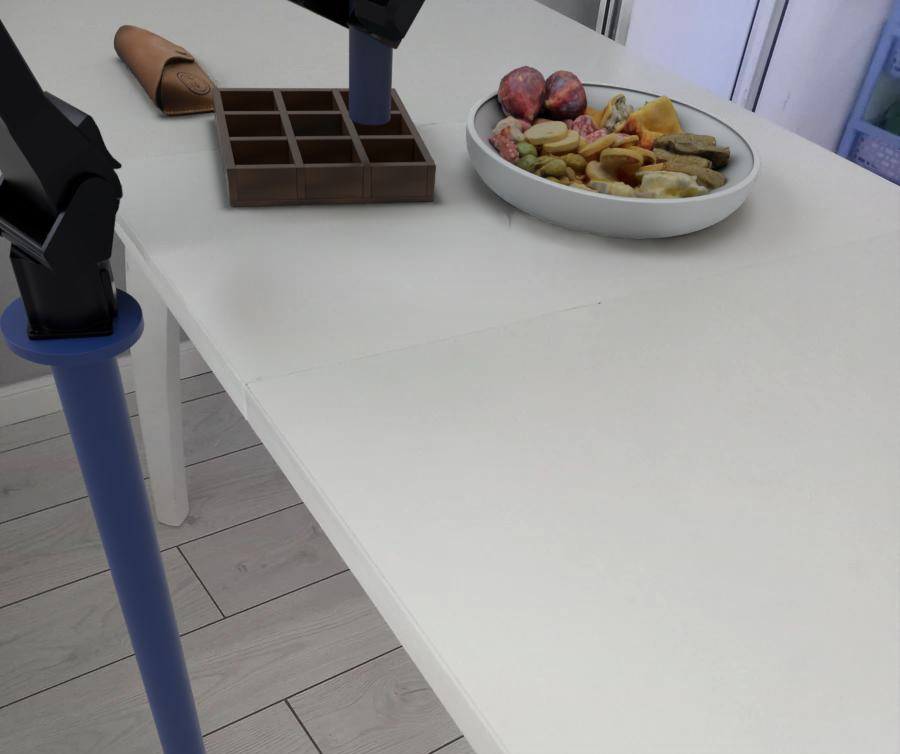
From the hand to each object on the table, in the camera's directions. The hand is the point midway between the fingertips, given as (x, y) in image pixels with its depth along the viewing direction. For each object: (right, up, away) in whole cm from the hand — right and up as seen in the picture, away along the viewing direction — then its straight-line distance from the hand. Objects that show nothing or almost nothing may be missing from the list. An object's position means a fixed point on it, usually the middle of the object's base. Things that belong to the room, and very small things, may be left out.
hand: (381, 37), depth 81 cm
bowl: (+22, -8, +13) cm, 27 cm away
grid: (-7, -6, +11) cm, 14 cm away
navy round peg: (-1, -5, +4) cm, 7 cm away
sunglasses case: (-26, +8, +21) cm, 34 cm away
